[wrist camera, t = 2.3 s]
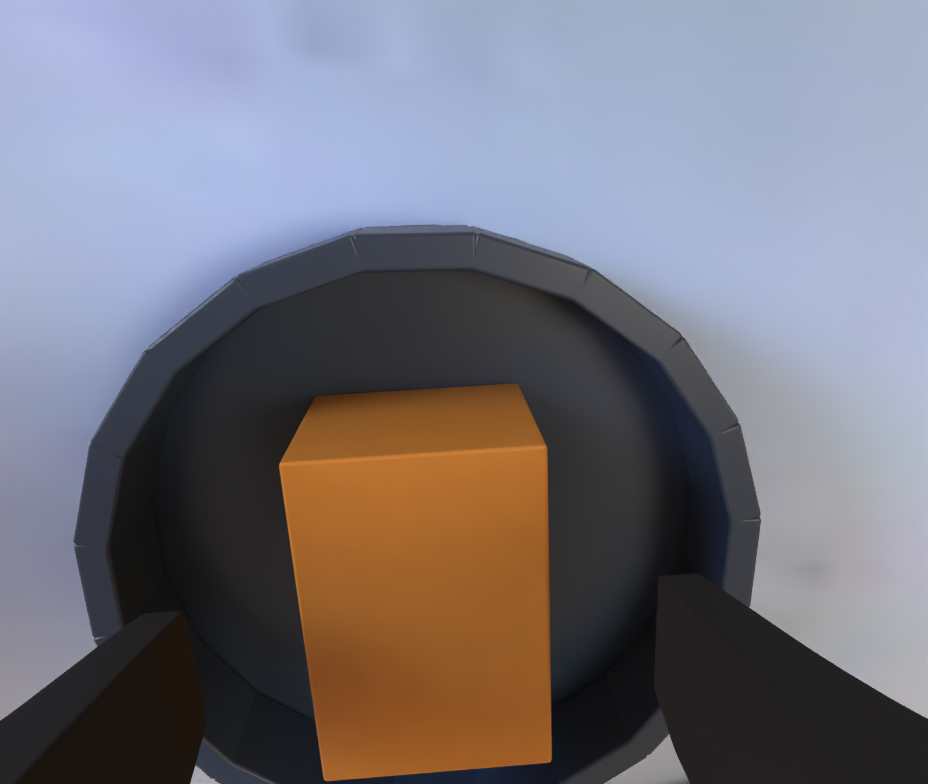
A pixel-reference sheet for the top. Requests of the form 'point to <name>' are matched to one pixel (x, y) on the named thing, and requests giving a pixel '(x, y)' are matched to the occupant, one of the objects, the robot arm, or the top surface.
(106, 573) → the tin
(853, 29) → the top surface
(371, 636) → the soap
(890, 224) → the top surface
